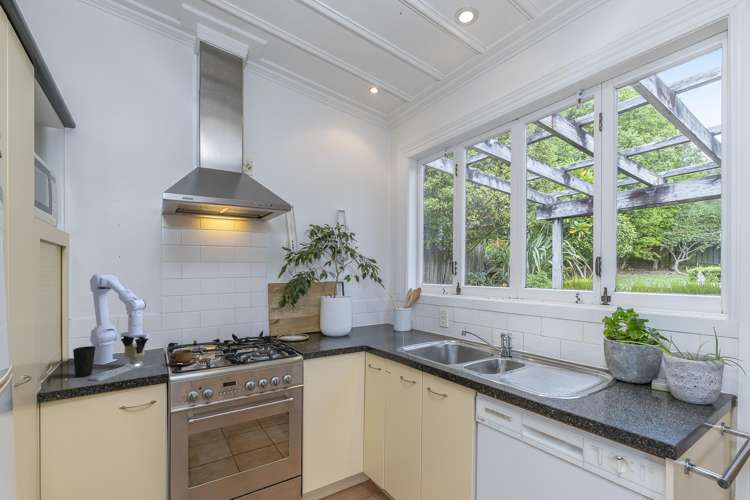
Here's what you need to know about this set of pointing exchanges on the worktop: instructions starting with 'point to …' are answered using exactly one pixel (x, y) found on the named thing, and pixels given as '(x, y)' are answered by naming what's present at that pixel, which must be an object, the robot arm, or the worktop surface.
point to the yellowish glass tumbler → (133, 351)
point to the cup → (83, 361)
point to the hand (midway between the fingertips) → (134, 352)
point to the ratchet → (119, 369)
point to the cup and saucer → (182, 357)
